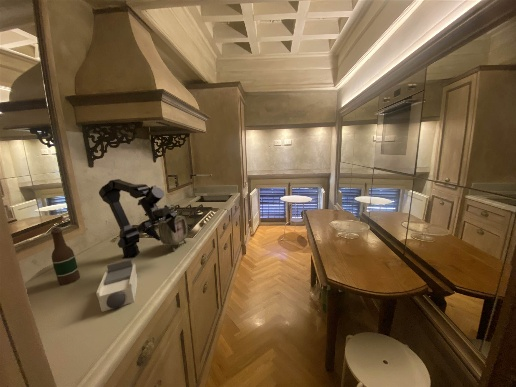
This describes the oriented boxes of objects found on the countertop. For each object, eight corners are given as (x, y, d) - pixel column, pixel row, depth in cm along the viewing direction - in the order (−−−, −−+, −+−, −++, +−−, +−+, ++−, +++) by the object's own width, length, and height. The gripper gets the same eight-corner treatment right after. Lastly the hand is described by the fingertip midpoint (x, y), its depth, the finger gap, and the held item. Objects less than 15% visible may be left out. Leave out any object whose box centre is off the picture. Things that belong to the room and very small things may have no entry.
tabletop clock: (174, 253, 115) (167, 208, 110) (160, 252, 117) (153, 208, 112) (189, 241, 129) (184, 201, 123) (177, 240, 131) (171, 201, 126)
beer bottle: (62, 278, 97) (48, 229, 92) (83, 273, 100) (71, 225, 95) (54, 288, 90) (39, 235, 85) (77, 282, 93) (63, 231, 88)
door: (109, 272, 87) (107, 264, 87) (132, 267, 91) (131, 258, 90) (105, 284, 79) (102, 275, 79) (130, 277, 83) (128, 268, 82)
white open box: (109, 287, 88) (106, 270, 87) (138, 279, 93) (135, 263, 91) (100, 314, 73) (95, 295, 71) (134, 303, 77) (130, 285, 76)
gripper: (140, 205, 88) (159, 237, 87) (175, 195, 105) (191, 222, 104) (129, 217, 94) (147, 247, 93) (163, 206, 110) (179, 231, 109)
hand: (167, 236), depth 99 cm, fingers open, 9 cm apart
